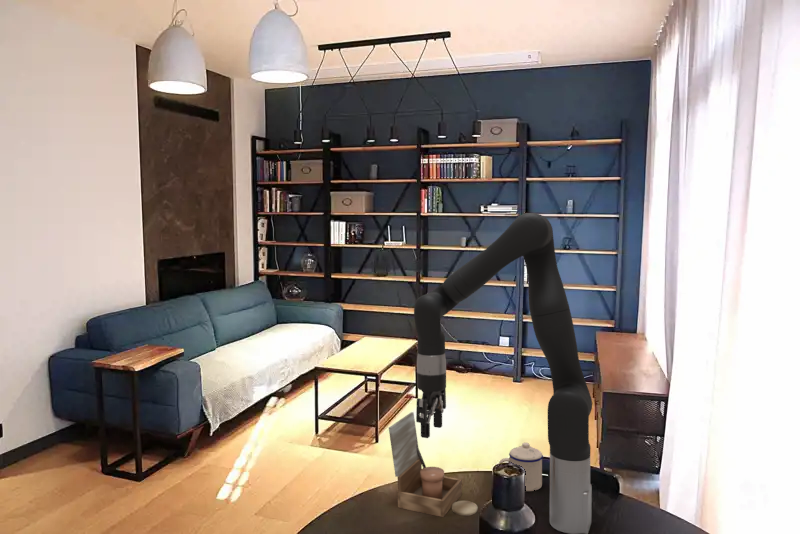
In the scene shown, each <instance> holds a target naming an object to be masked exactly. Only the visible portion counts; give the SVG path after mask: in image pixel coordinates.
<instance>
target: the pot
mask: <svg viewBox="0 0 800 534" xmlns="http://www.w3.org/2000/svg"><path fill="white" fill-rule="evenodd" d="M444 476H445V470H444V469H443V468H441V467H439V466H426V467H425V468H423V467H422V469H421V471H420V478H421V479H422V496H426V497H431V498H436V499H441V500H442V480H443V479H444Z"/></svg>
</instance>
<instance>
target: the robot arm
mask: <svg viewBox="0 0 800 534" xmlns="http://www.w3.org/2000/svg"><path fill="white" fill-rule="evenodd" d="M553 231H554V229H553V226H552V223H551V222H550V221H549V219H548V218H547V217H545V216H544V215H542V214H539V213H535V212H526V213H522V214H520V215H519V216H517V218H515V220H514V221H513V222H512V223H511V224H510V225H509V226H508V227H507V228H506V230H504V232H503V233H501V234H500V235H499V236H498V237H497V239H496V240H495V241H493V242H492V243H491V244H490V245H488V247H486V248H485V249H484V250H483V251H482V252H480V253H478V254H477V255H476V256H474V257H473V258H472V259H470V260H469V261H467V262H466V263H465V264H463V265H462V266H461V267H460V268H458V269H457V270H455V271H454V272H453V273H451V274H450V275H449V276H447V278H446V279H445V280H444V281H443V282H442V283H441V284H440V285H439V286H438V287H436V288H435V289H433V290H432V291H430V292H429V293H426V294H423V295H421V296H419V297H418V298H417V299H416V301H415V303H414V308H413V318H414V325H415V330H416V334H417V357H416V388H417V389H418V390H419V391H422V395H421V398H419V397H418V398H417V399H416V412H415V413H416V418H415V419H416V421H415V423H420V437H421V438H425V439H429V438H430V437H431V430H430V429H431V424H430V422H431V418H432V416H433V427H434V428H436V429H437V428H438V429H439V428H442V427H443V413H444V410H445V409H446V408H447V396H446V394H447V393H446V392H447V391H446V390H447V389H446V388H447V360H446V359H447V358H446V340H445V339H446V338H445V337H446V336H445V333H444V332H443V331H442V326H441V318H442V317H444V316H446V315H447V314H448V313H449V312H450V311H452V310H453V309H454V308H455V307H456V306H457V305H458V304H459V303H461V302H463V301H464V300H467V298H469V297H470V296H471V295H473V294H474V293H476V292H477V291H479V290H480V288H483V286H485V285H486V284H487V283H488V282H489V281H490V280H491V279H492V278H494V277H495V276H496V275H497V274H498V273H499V272H500V271H502V270H503V269H504V268H505V267H507V266H508V265H510V264H511V263H512V262H514V261H516V260H518V259H519V258H521V257H523V261H524V264H525V268H526V272H527V278H528V279H527V284H528V291H527V292H528V307H529V314H530V318H531V322H532V327H533V332H534V335H535V338H536V340H537V342H538V345H539V347H540V349H541V351H542V353H543V355H544V358H545V359H546V361H547V364H548V366H549V371H550V376H551V382H552V383H551V384H552V388H553V389H552V390H553V391H552V392H553V394H552V395H551V397H550V398H549V401H548V405H547V441H548V445H549V524H550V525H551V527H552V528H553V529H555V530H556V531H558V532H562V533H564V534H589V531H590V529H591V525H592V495H593V494H592V492H593V491H592V484H591V444H590V438H589V436H590V434H589V433H590V432H589V428H590V427H589V426H590V425H589V421H590V419H589V418H590V414H591V412H592V409H593V402H592V401H593V400H592V396H591V393H590V390H589V388H588V384H587V382H586V379H585V376H584V373H583V370H582V366H581V363H580V358H579V351H578V343H577V338H576V334H575V333H576V332H575V327H574V321H573V319H572V318H573V317H572V313H571V309H570V304H569V301H568V298H567V294H566V289H565V288H564V284H563V282H562V278H561V275H560V271H559V268H558V264H557V259H556V248H555V240H554V233H553Z"/></svg>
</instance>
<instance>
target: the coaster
mask: <svg viewBox="0 0 800 534" xmlns="http://www.w3.org/2000/svg"><path fill="white" fill-rule="evenodd" d="M451 511H452V512H453V513H454V514H455V515H458V516H464V517H468V516H472V515H473V516H474V515H475V514H476V513H477V512H478V505H477V504H476V503H475V502H473V501H469V500H457V501H456V502H455V503H453V504H452V507H451Z"/></svg>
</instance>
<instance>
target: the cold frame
mask: <svg viewBox="0 0 800 534" xmlns="http://www.w3.org/2000/svg"><path fill="white" fill-rule="evenodd" d="M415 419H416V418H415V414H414V411H413V412H412V411H411V412H409V413H408V414H407V415H405V416H403V417H402V418H401V419H399V420H398V421H396V422H395V423H393V424H391V425H390V426H389V427H388V433H389V439H390V446H391V447H390V448H391V454H392V461H393V470H394V475H395V477H397V508H400V509H404V510H408V511H413V512H418V513H422V514H427V515H432V516H437V517H441V518H444V517H445V516H446V514H447V513H448V512H449V511H450V510H451V509H452V504H453V503H455V502H457V501H459V500H458V499H460V498H461V496H462V495H463V479H460V478H456V477H449V476H445V475H444V479H443V480H442V500H441V499H436V498H431V497H426V496H422V479H421V478H420V471H421V469H423V468H425V467H427V466H426V464H425V461H424V459H423V456H422V453H421V451H420V449H419V442H418V435H417V428H416V421H415Z"/></svg>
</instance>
